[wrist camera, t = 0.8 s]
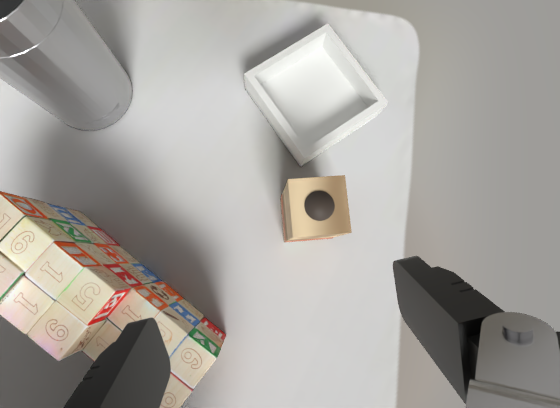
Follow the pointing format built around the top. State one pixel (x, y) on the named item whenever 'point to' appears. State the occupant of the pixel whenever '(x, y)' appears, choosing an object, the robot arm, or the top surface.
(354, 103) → the white tray
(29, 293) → the stack of blocks
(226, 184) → the top surface
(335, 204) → the oak block
